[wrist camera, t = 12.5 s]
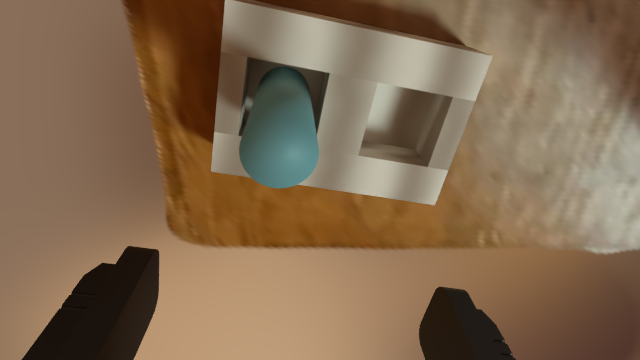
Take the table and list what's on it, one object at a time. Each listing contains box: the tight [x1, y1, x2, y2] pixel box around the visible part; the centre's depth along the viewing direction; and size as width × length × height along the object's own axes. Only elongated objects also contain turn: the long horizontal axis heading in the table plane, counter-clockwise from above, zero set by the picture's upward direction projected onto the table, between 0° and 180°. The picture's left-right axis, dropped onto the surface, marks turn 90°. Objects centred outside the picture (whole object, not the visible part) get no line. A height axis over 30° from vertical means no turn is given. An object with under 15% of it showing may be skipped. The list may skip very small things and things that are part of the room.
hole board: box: [211, 0, 493, 205], centre depth 29 cm, size 18×12×4 cm, turn 78°
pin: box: [239, 67, 319, 188], centre depth 25 cm, size 4×4×12 cm
